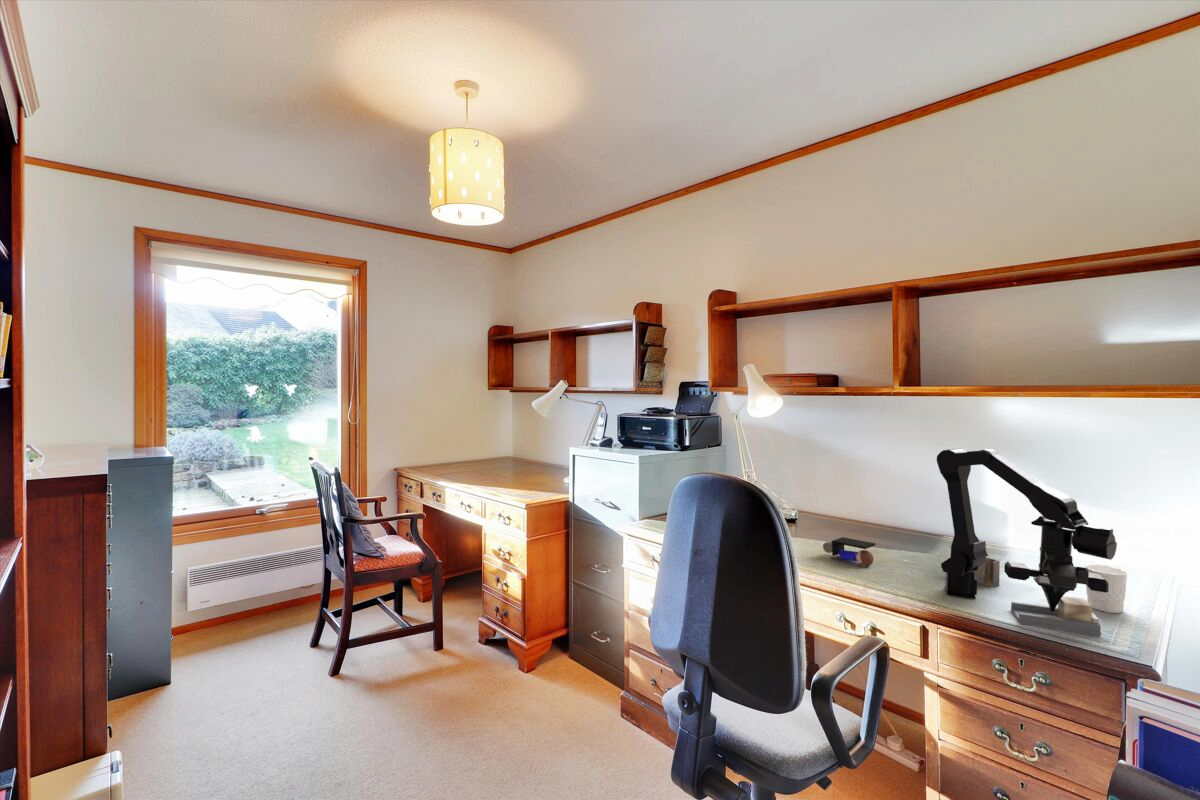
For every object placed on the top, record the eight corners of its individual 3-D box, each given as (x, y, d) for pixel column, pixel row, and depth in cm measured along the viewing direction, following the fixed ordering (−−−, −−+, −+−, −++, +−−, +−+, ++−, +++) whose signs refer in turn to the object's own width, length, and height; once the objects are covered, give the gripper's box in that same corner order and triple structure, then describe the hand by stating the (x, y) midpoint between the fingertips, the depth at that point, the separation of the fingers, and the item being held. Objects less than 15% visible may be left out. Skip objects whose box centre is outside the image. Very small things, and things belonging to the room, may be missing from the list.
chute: (1020, 623, 133) (1020, 610, 133) (1010, 610, 141) (1011, 597, 141) (1100, 635, 126) (1101, 621, 126) (1086, 620, 134) (1086, 606, 134)
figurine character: (822, 562, 184) (867, 569, 172) (820, 539, 184) (864, 544, 172) (834, 558, 188) (878, 565, 176) (832, 535, 188) (876, 540, 176)
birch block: (1064, 624, 131) (1064, 603, 131) (1057, 615, 135) (1058, 595, 135) (1091, 627, 129) (1092, 606, 128) (1083, 619, 133) (1084, 598, 133)
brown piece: (952, 576, 167) (952, 544, 166) (958, 575, 168) (958, 543, 168) (992, 589, 156) (993, 555, 156) (999, 587, 158) (999, 553, 157)
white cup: (1105, 601, 146) (1106, 564, 146) (1135, 614, 138) (1136, 574, 138) (1076, 602, 146) (1077, 564, 145) (1104, 614, 138) (1105, 574, 138)
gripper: (1016, 549, 130) (1012, 615, 130) (1120, 563, 122) (1115, 633, 122) (1005, 538, 140) (1002, 599, 140) (1101, 550, 132) (1097, 614, 132)
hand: (1051, 611), depth 134 cm, fingers closed
